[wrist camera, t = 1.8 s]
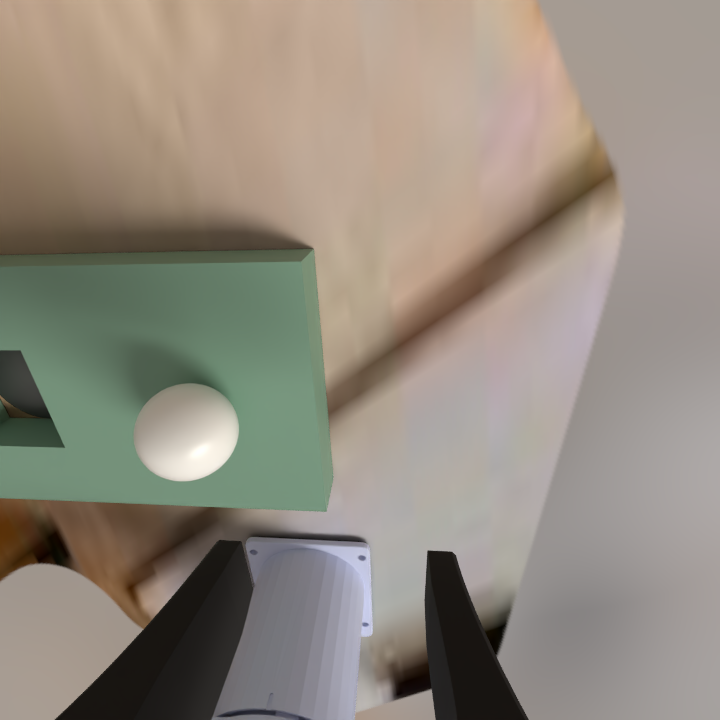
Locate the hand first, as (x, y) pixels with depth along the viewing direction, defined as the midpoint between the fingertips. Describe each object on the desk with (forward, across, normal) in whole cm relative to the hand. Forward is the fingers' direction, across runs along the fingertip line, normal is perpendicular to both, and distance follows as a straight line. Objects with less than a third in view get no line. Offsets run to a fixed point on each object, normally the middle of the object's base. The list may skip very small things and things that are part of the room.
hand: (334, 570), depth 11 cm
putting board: (+10, +13, 0) cm, 17 cm away
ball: (+6, +7, 0) cm, 9 cm away
